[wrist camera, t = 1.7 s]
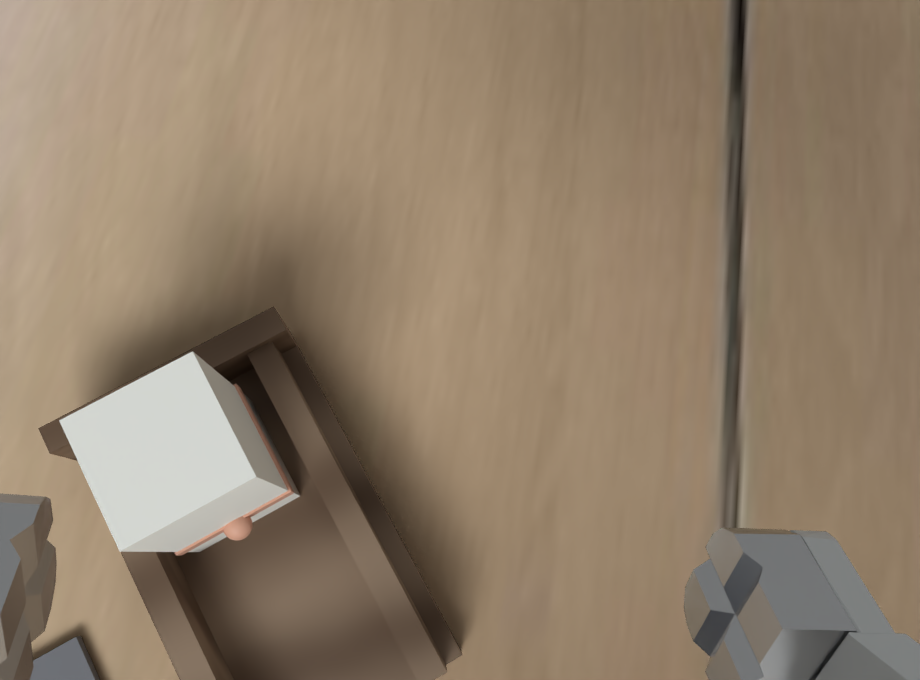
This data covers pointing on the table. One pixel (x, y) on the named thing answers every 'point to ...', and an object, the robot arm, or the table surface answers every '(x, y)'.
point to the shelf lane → (292, 550)
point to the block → (178, 460)
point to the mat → (65, 663)
